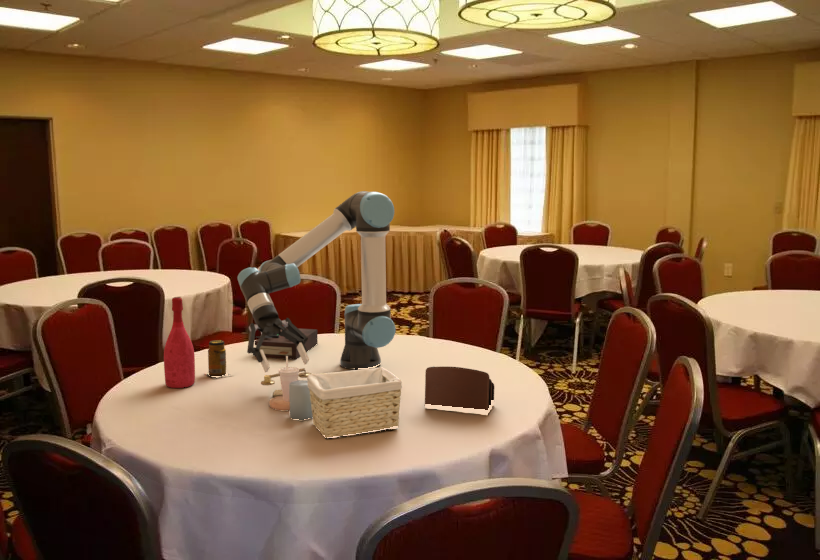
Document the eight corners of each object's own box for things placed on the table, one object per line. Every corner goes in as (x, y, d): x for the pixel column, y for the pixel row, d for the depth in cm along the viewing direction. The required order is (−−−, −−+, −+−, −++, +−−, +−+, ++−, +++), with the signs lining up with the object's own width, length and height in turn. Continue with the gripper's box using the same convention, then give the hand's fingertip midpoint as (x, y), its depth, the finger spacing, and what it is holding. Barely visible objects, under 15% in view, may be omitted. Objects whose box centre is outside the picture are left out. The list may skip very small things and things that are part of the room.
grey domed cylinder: (314, 412, 215) (314, 380, 213) (312, 420, 208) (312, 387, 206) (291, 412, 214) (290, 380, 213) (288, 420, 207) (287, 387, 206)
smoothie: (280, 396, 225) (279, 353, 222) (300, 396, 225) (300, 353, 223) (278, 403, 218) (277, 358, 216) (299, 403, 219) (298, 358, 217)
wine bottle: (201, 383, 243) (198, 296, 239) (181, 390, 234) (177, 300, 230) (179, 379, 247) (176, 293, 243) (158, 386, 238) (154, 298, 234)
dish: (310, 398, 228) (310, 394, 228) (306, 410, 216) (306, 406, 216) (272, 398, 227) (272, 394, 227) (266, 410, 215) (266, 406, 215)
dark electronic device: (321, 326, 300) (296, 343, 271) (322, 344, 301) (296, 362, 272) (278, 324, 304) (249, 340, 275) (279, 341, 305) (249, 359, 276)
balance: (312, 392, 234) (312, 366, 233) (311, 396, 229) (311, 370, 228) (262, 392, 234) (261, 366, 232) (259, 397, 229) (259, 370, 227)
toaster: (488, 416, 213) (489, 370, 211) (424, 409, 219) (424, 365, 217) (494, 406, 222) (495, 362, 220) (432, 399, 228) (433, 357, 226)
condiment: (222, 370, 258) (221, 338, 257) (233, 376, 252) (232, 342, 250) (203, 374, 254) (202, 341, 252) (213, 379, 247) (212, 345, 246)
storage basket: (320, 442, 191) (320, 389, 189) (306, 423, 206) (305, 373, 204) (403, 431, 200) (404, 380, 198) (384, 413, 215) (384, 365, 213)
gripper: (293, 312, 239) (318, 365, 230) (223, 322, 224) (246, 379, 215) (301, 298, 234) (326, 352, 225) (229, 308, 219) (253, 366, 210)
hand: (287, 366), depth 220 cm, fingers open, 13 cm apart
